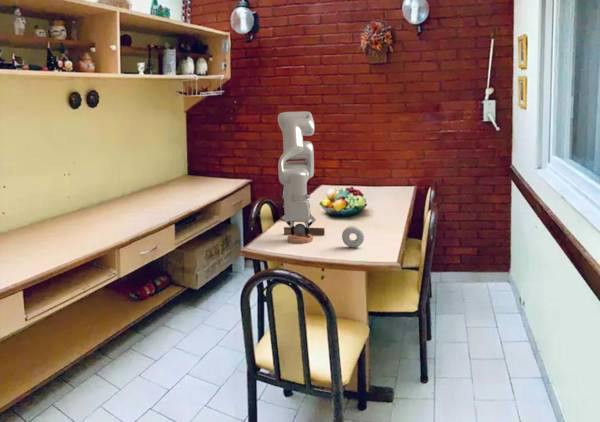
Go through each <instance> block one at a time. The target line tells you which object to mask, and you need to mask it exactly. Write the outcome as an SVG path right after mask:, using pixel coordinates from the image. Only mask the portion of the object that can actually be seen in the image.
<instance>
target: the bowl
mask: <svg viewBox="0 0 600 422" xmlns="http://www.w3.org/2000/svg"><path fill="white" fill-rule="evenodd" d="M313 241H314V235H310V234H308V235H307V236H305V234H304V235H303V236H297V235H295V234H294V236H292V235H287V242H289V243H290V244H293V245H294V244H295V245H304V244H310V243H312V242H313Z"/></svg>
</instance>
